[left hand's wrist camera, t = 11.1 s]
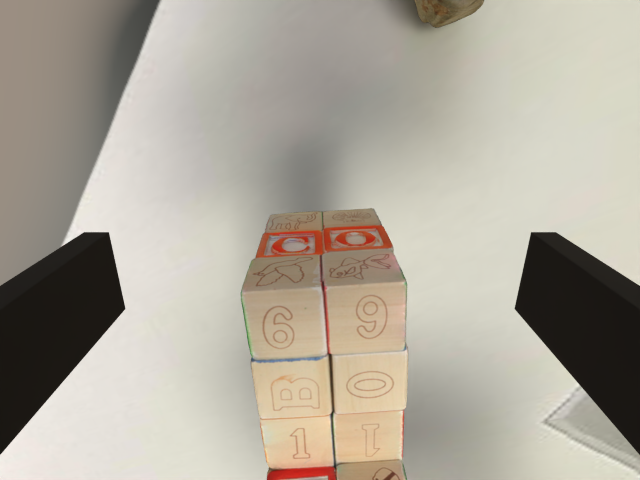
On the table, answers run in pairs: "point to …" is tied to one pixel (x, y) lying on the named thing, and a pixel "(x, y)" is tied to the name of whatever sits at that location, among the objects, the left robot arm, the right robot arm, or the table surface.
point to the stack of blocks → (328, 346)
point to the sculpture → (445, 10)
